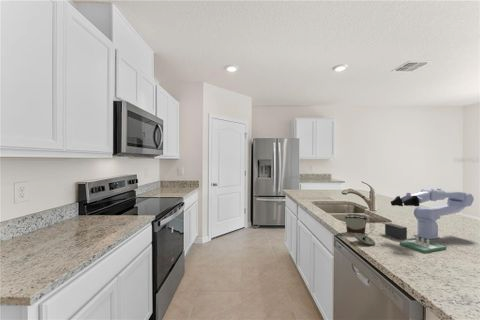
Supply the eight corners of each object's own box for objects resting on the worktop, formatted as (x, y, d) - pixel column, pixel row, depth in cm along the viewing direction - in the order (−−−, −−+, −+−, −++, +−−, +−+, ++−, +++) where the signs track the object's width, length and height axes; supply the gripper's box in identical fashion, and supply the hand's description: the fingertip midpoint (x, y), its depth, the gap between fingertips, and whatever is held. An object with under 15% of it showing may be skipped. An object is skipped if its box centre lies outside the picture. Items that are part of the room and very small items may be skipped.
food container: (365, 231, 146) (365, 214, 146) (367, 234, 140) (367, 216, 140) (342, 229, 149) (342, 213, 149) (344, 232, 143) (344, 215, 143)
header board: (420, 241, 129) (420, 233, 129) (446, 249, 117) (446, 240, 117) (399, 244, 124) (399, 236, 123) (424, 253, 112) (424, 243, 112)
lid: (356, 238, 133) (356, 229, 133) (377, 242, 127) (377, 232, 127) (351, 243, 125) (351, 233, 125) (372, 248, 119) (372, 237, 119)
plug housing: (386, 232, 144) (386, 222, 144) (406, 238, 132) (406, 227, 132) (381, 232, 142) (381, 222, 142) (401, 239, 131) (401, 228, 131)
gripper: (403, 191, 141) (384, 196, 137) (427, 190, 127) (408, 195, 123) (406, 204, 140) (388, 209, 136) (431, 204, 126) (412, 209, 123)
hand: (397, 203), depth 130 cm, fingers open, 7 cm apart
